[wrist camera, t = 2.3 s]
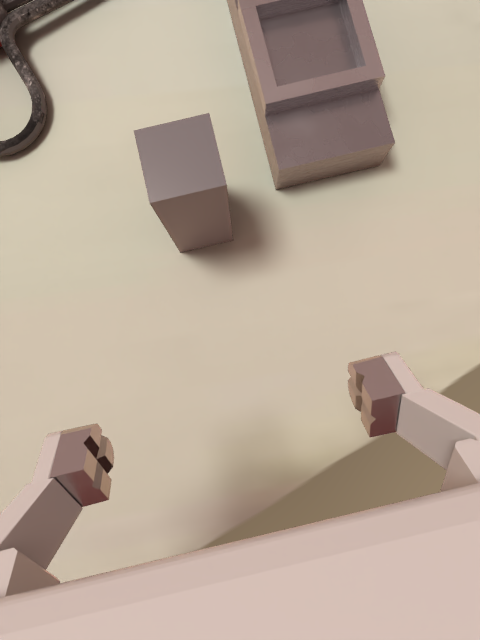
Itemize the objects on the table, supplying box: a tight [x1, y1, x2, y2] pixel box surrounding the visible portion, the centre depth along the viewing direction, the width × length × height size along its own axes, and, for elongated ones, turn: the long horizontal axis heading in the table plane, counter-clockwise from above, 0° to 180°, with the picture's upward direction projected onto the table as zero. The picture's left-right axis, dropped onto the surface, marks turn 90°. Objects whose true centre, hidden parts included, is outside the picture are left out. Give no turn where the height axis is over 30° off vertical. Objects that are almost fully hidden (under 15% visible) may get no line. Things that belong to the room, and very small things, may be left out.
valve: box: [0, 0, 73, 156], centre depth 29 cm, size 6×26×15 cm
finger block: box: [134, 113, 233, 253], centre depth 24 cm, size 4×4×9 cm
